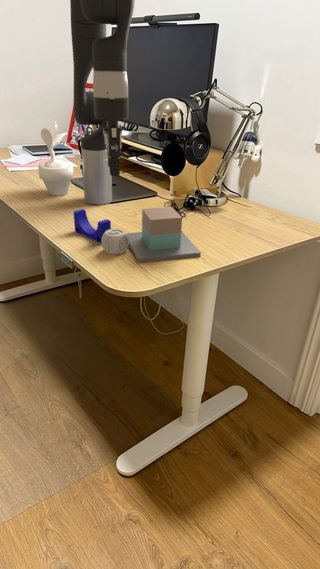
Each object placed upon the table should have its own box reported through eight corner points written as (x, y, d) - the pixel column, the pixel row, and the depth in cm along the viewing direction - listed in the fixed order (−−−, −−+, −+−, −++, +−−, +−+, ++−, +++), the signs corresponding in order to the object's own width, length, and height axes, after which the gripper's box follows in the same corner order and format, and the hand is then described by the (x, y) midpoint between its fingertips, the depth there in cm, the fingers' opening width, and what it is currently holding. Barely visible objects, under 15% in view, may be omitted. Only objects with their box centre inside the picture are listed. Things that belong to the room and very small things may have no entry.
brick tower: (124, 236, 108) (123, 204, 104) (179, 232, 112) (181, 201, 108) (138, 262, 95) (138, 227, 91) (200, 256, 99) (203, 222, 95)
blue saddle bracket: (115, 240, 106) (114, 219, 104) (102, 245, 104) (101, 223, 101) (88, 227, 114) (86, 207, 111) (75, 231, 111) (73, 211, 108)
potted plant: (56, 200, 133) (48, 120, 120) (34, 193, 139) (24, 116, 126) (84, 192, 142) (79, 117, 129) (62, 186, 148) (56, 113, 135)
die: (101, 251, 100) (100, 232, 98) (114, 244, 104) (113, 226, 101) (116, 256, 98) (116, 237, 95) (129, 249, 101) (129, 231, 99)
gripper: (92, 93, 92) (96, 165, 99) (94, 96, 79) (98, 178, 87) (125, 93, 93) (126, 164, 100) (131, 97, 80) (132, 178, 88)
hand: (113, 171), depth 94 cm, fingers open, 8 cm apart
